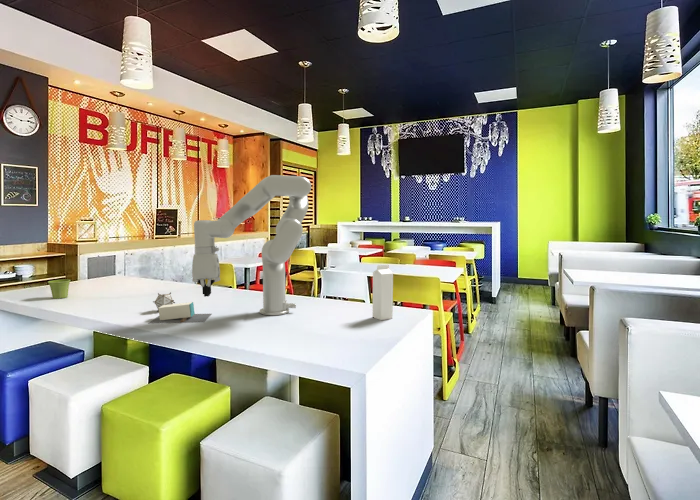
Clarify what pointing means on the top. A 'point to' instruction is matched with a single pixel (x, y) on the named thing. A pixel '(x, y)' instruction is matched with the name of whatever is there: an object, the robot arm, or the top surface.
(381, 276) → the milk
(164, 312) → the cream block
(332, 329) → the top surface
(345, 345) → the top surface
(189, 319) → the mat
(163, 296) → the game die
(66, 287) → the plant pot
